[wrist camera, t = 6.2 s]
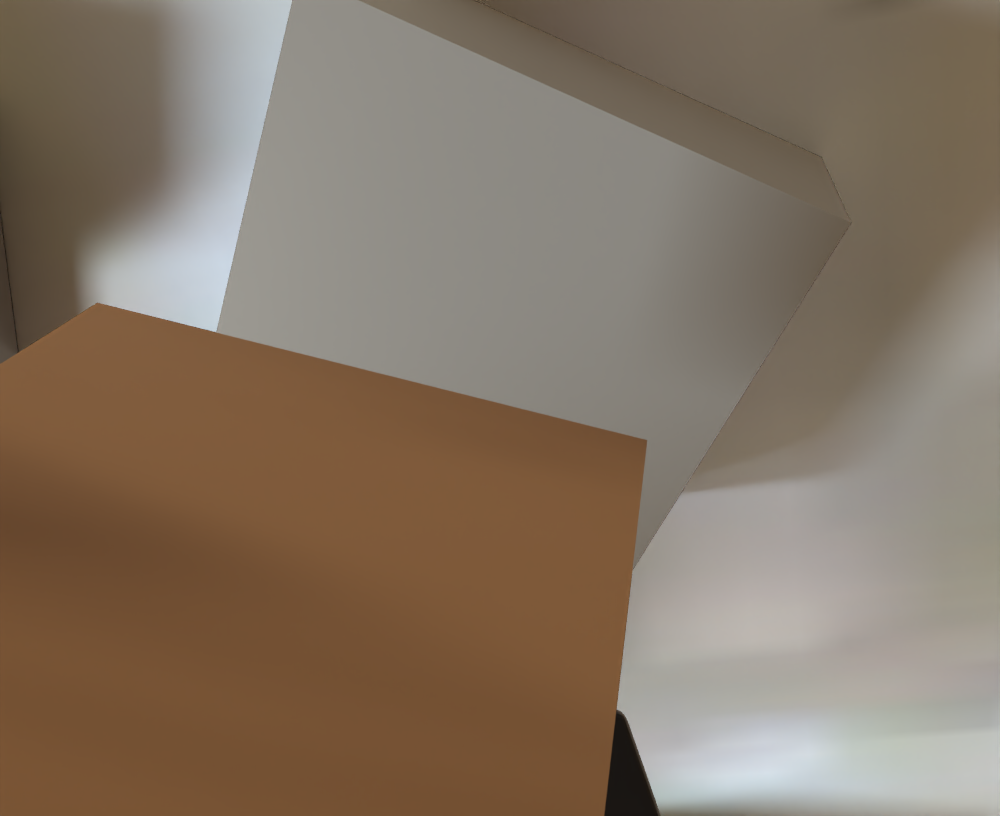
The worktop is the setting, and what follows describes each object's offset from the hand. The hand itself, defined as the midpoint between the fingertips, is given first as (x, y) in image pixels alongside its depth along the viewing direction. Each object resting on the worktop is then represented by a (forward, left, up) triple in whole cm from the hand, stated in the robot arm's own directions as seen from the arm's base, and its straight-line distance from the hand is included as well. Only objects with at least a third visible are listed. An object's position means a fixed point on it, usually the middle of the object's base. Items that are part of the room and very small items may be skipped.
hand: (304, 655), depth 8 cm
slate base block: (0, 0, -11) cm, 11 cm away
